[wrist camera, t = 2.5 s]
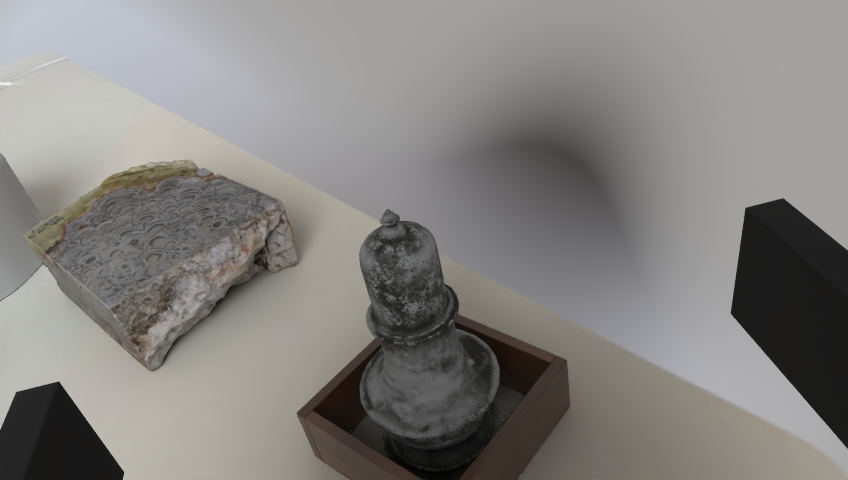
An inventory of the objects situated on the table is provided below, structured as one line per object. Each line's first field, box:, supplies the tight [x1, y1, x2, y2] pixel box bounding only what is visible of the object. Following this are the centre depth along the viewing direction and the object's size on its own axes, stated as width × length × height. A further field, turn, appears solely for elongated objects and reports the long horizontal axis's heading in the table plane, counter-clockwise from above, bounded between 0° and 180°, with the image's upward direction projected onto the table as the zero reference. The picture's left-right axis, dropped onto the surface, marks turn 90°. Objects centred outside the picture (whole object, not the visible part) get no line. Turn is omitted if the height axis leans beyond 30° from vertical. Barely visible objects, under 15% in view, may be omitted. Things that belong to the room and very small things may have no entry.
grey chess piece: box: [359, 209, 501, 480], centre depth 26 cm, size 6×6×12 cm
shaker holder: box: [297, 314, 570, 480], centre depth 29 cm, size 8×8×3 cm
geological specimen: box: [24, 160, 298, 371], centre depth 41 cm, size 11×6×15 cm
